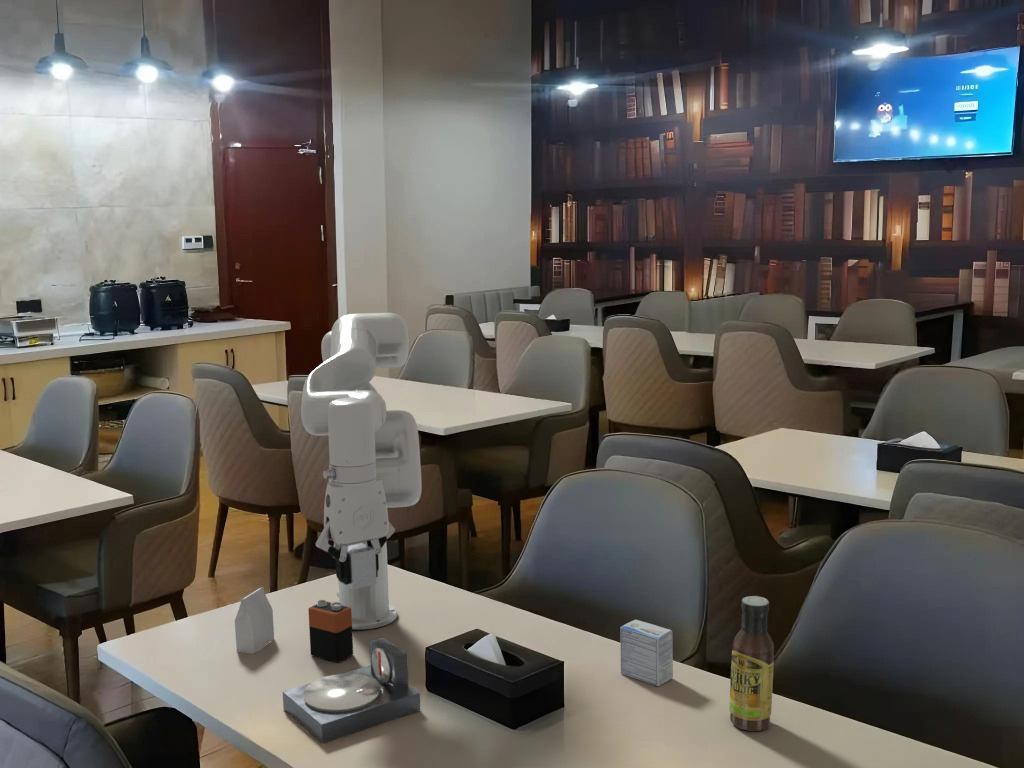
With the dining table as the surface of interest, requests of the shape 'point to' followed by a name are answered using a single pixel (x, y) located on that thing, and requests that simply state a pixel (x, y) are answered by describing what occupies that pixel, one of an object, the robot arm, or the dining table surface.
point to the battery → (330, 631)
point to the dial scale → (355, 696)
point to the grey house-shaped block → (254, 622)
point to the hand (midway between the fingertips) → (357, 577)
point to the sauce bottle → (752, 668)
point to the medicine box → (646, 652)
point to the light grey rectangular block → (361, 566)
